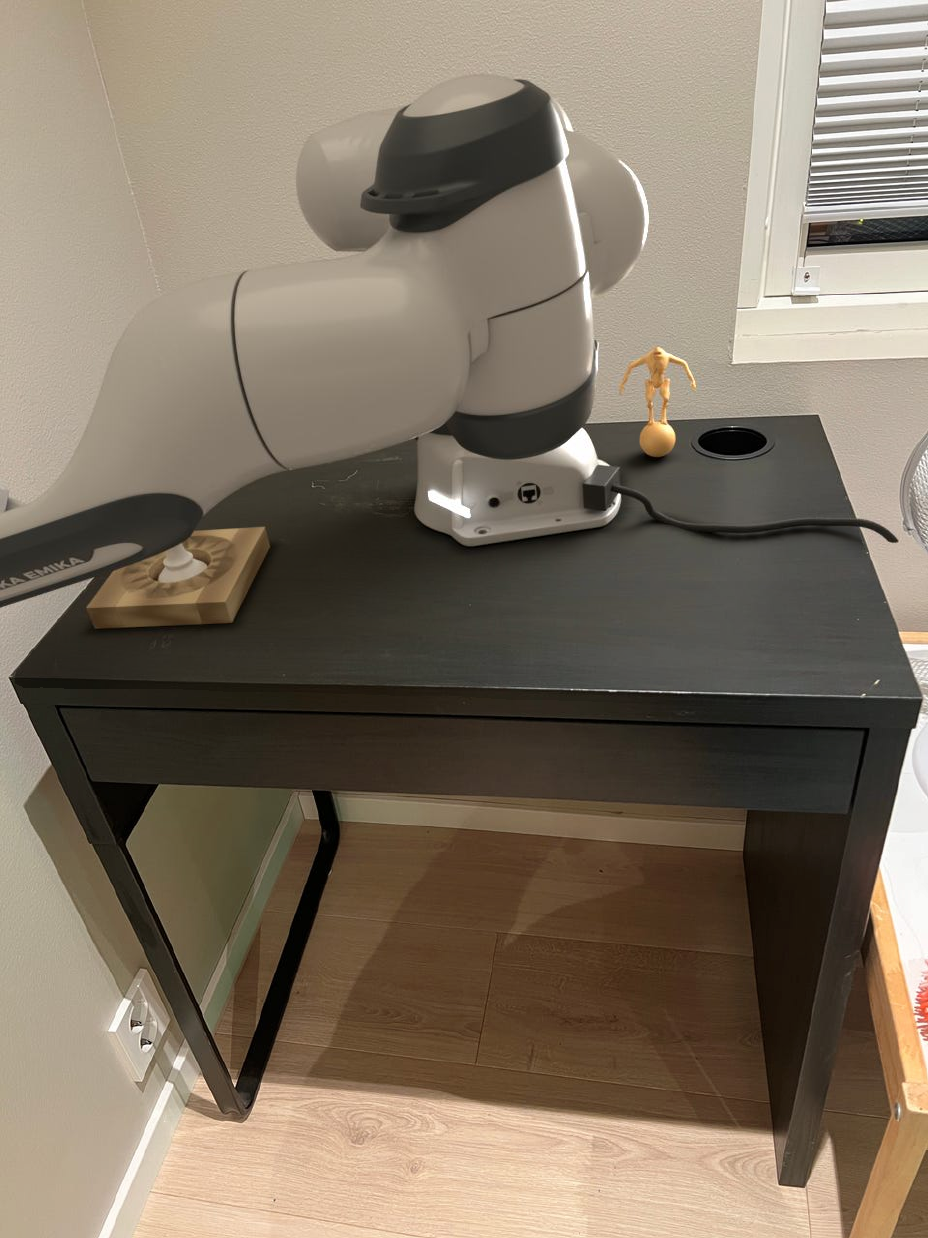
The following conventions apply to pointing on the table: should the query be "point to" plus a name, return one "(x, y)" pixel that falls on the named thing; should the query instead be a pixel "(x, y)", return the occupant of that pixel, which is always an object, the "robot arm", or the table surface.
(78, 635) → the table surface
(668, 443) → the figurine
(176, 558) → the chess pawn
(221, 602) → the socket pad
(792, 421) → the table surface
